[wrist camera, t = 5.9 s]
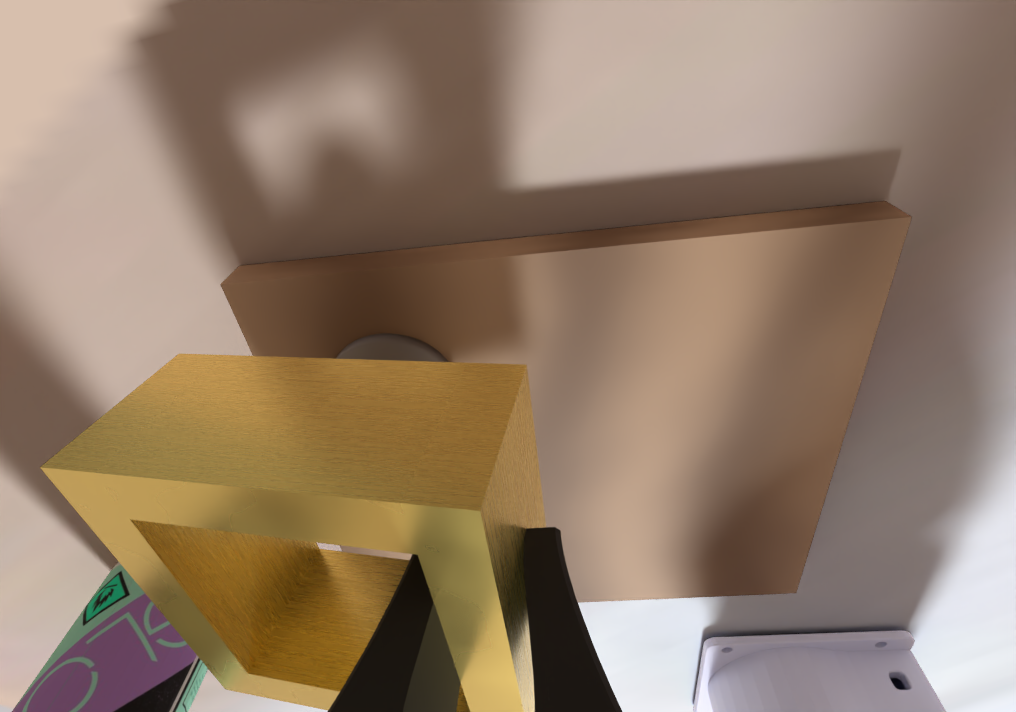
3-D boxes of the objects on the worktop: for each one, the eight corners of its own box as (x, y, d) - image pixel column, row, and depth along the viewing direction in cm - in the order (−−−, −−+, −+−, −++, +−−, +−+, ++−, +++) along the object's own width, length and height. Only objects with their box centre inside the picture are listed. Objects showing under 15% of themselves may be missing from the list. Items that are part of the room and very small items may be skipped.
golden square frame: (526, 364, 10) (479, 511, 8) (555, 604, 15) (532, 752, 12) (178, 353, 12) (39, 467, 10) (296, 569, 17) (225, 689, 14)
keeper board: (885, 200, 14) (1073, 314, 10) (784, 567, 23) (854, 724, 18) (239, 265, 16) (111, 392, 11) (376, 586, 25) (338, 735, 20)
